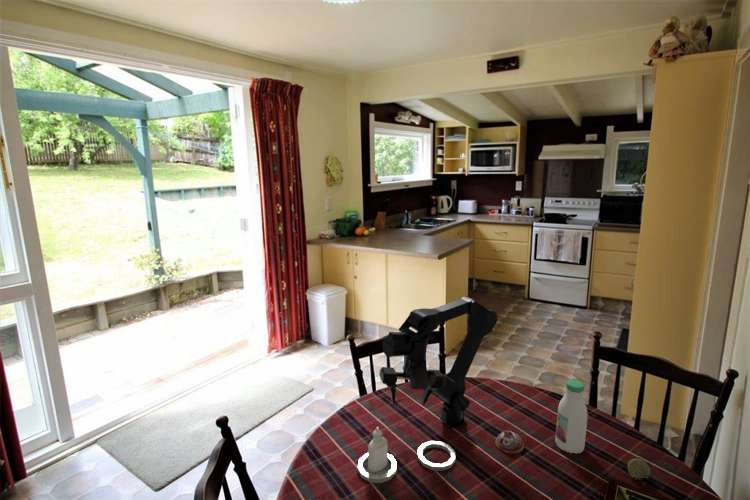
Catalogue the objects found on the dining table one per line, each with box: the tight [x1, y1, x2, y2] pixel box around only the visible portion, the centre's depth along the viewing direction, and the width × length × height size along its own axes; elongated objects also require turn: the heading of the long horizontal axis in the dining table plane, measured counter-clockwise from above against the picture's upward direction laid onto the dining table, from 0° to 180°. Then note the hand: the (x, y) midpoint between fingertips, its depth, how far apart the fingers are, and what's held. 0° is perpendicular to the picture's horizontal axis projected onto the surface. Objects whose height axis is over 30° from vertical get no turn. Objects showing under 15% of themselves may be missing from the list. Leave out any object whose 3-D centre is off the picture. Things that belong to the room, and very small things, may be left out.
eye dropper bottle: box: [367, 426, 389, 473], centre depth 108 cm, size 4×6×12 cm
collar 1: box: [357, 452, 398, 484], centre depth 109 cm, size 10×10×1 cm
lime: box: [627, 457, 651, 480], centre depth 105 cm, size 4×5×5 cm
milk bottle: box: [554, 379, 588, 455], centre depth 115 cm, size 8×8×20 cm
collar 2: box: [417, 440, 457, 472], centre depth 113 cm, size 10×10×1 cm
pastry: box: [495, 430, 525, 455], centre depth 117 cm, size 8×8×5 cm
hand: (408, 404), depth 118 cm, fingers open, 9 cm apart
